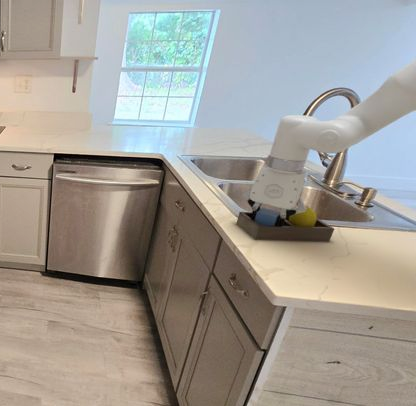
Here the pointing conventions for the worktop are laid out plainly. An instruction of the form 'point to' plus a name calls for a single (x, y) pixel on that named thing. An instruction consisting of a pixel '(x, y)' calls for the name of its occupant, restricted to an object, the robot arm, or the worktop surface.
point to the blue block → (266, 217)
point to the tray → (285, 230)
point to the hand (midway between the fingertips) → (265, 225)
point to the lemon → (304, 218)
